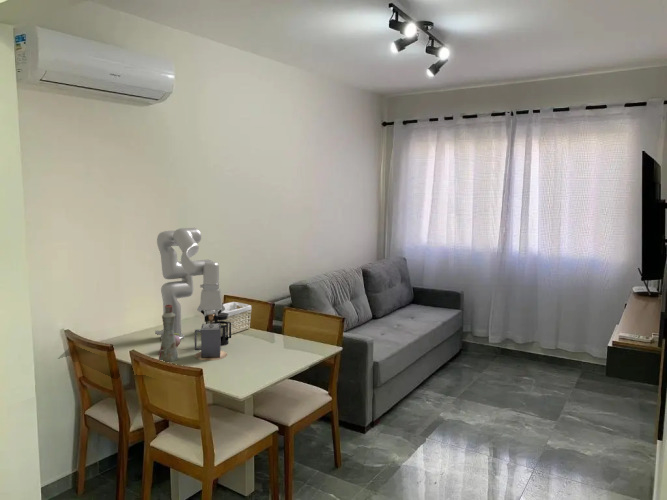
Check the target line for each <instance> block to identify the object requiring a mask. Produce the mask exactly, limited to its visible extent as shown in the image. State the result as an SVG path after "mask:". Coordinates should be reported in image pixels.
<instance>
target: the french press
mask: <svg viewBox="0 0 667 500" xmlns="http://www.w3.org/2000/svg"><path fill="white" fill-rule="evenodd" d="M222 304H225V303H224V302H222ZM213 314H215V313H213ZM228 315H229V314H228V313H223V312H221V313H220V314H219V315H218V320H226V319H228ZM213 323H215V322H213ZM213 323H212V324H213ZM216 323H221V324H226V325H221V328H223V331H221V347H222V346H224V347H225V346H227V345H228V344H229V339H231V338H232V334H231V322H225V321H218V322H216ZM228 326H229V335H228Z"/></svg>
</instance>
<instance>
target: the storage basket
mask: <svg viewBox="0 0 667 500" xmlns="http://www.w3.org/2000/svg"><path fill="white" fill-rule="evenodd" d="M223 306H224V307H225V310H224V311H222V312H223V313H228V314H229V315H228V319H226V320H218V321H225V322H231V335H234V334H236V333H240V332H243V331H245V330H248V329H250V328H251V327H250V326H251V319H252V318H251V315H252V305H250V304H247V303H242V302H236V301H232V302H227V303H226V302H225V303H224V304H223ZM221 309H222V308H221ZM218 311H219V310H218ZM213 313H215V310H207V315H208V314H213ZM213 322H215V321H212V323H213ZM207 324H210V321H208V323H207ZM221 325H226V324H221ZM221 331H223V328H221ZM228 336H229V326H228Z"/></svg>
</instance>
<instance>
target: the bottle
mask: <svg viewBox="0 0 667 500" xmlns="http://www.w3.org/2000/svg"><path fill="white" fill-rule="evenodd" d="M161 318H162V324H163V326H164V332H163V337H162V339H161V343H160V349H159V354H158V355H159V356H158V359H159V361H160V360H163V361H166V363H169V362H170V363H171V362H175V361H177V360H178V359H179V356H178V347H177V348H176V341H175V336H174V330H173V328H174V321H175V314H174V313H173V312H172V305H169V304H168V305H166V306H165V313H164V314H162V315H161Z"/></svg>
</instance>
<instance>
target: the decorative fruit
mask: <svg viewBox="0 0 667 500" xmlns="http://www.w3.org/2000/svg"><path fill="white" fill-rule="evenodd" d="M178 335H179V334H178V333H174V336H175V341H176V348H177V349H178V347H179V346H180V343H181V339H180V337H179V336H178Z"/></svg>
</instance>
